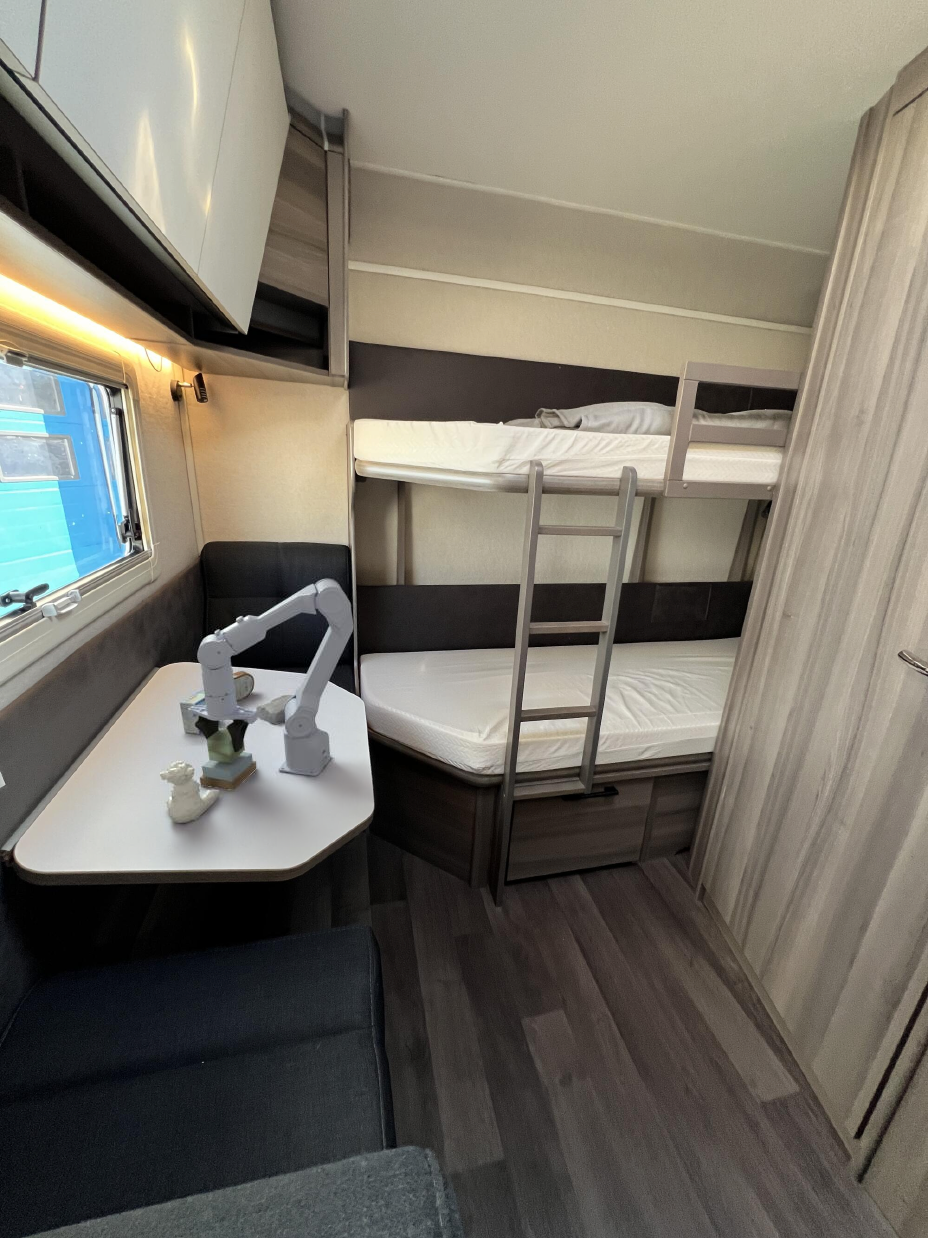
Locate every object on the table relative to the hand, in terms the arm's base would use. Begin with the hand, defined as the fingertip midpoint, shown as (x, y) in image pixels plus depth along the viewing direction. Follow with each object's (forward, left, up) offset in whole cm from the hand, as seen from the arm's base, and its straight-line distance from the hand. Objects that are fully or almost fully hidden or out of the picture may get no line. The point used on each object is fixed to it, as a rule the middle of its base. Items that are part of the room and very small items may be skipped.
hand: (226, 748), depth 101 cm
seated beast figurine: (0, +12, -8) cm, 14 cm away
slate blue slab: (0, 0, -5) cm, 5 cm away
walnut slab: (0, 0, -8) cm, 8 cm away
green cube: (0, 0, -2) cm, 2 cm away
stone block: (+5, -30, -8) cm, 31 cm away
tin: (+22, -32, -8) cm, 40 cm away
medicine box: (+21, -18, -8) cm, 29 cm away
